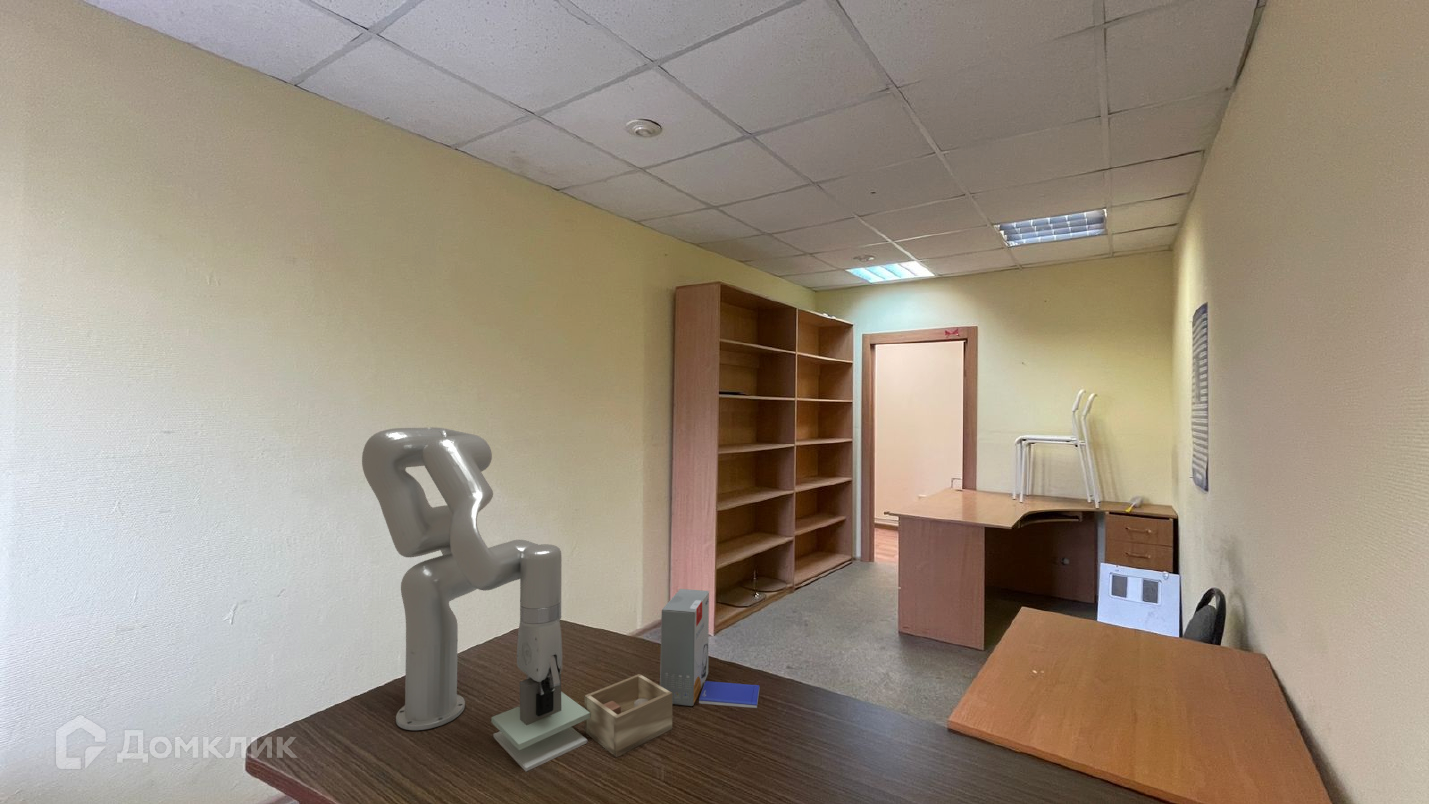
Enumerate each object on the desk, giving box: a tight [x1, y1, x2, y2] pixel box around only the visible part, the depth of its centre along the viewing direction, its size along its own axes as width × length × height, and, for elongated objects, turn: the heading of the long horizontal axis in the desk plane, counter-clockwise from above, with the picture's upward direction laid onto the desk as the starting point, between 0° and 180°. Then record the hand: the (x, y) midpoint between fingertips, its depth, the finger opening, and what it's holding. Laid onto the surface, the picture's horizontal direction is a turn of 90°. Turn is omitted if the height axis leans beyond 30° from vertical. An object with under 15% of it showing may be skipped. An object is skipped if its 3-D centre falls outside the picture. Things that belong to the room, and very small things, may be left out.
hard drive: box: [698, 680, 760, 709], centre depth 120 cm, size 2×8×12 cm
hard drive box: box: [659, 588, 710, 707], centre depth 124 cm, size 16×8×20 cm, turn 168°
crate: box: [584, 673, 673, 758], centre depth 107 cm, size 11×13×7 cm
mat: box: [493, 726, 588, 772], centre depth 104 cm, size 14×12×1 cm
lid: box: [491, 672, 590, 750], centre depth 104 cm, size 12×14×9 cm
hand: (540, 708), depth 104 cm, fingers closed on lid, 2 cm apart
